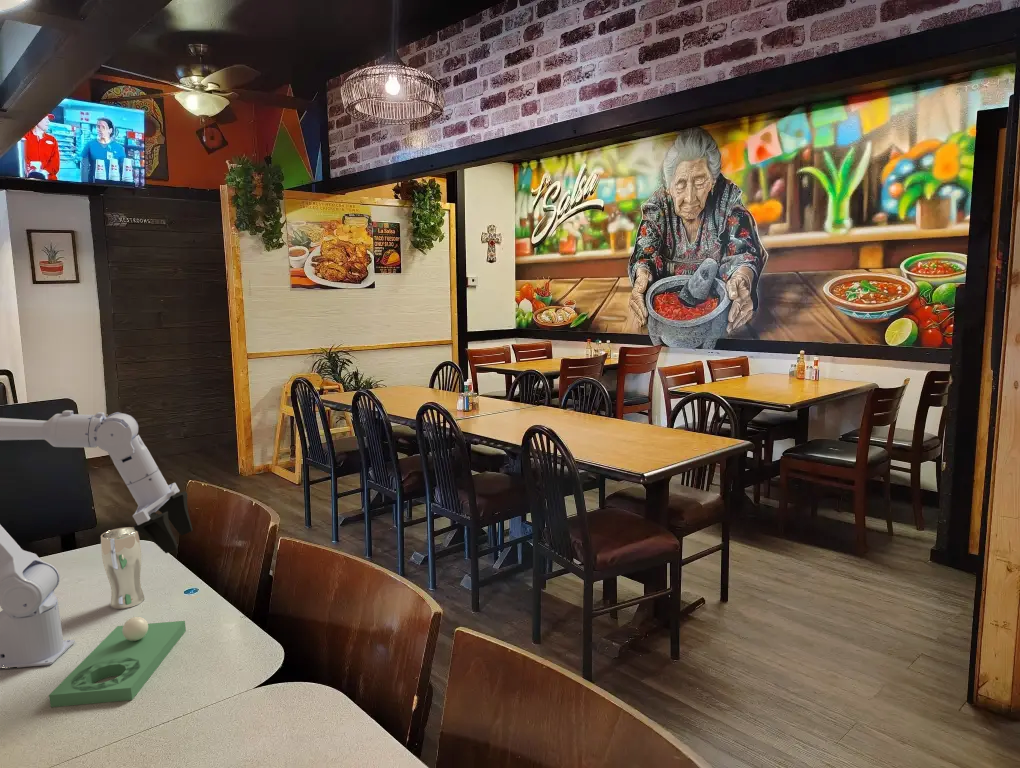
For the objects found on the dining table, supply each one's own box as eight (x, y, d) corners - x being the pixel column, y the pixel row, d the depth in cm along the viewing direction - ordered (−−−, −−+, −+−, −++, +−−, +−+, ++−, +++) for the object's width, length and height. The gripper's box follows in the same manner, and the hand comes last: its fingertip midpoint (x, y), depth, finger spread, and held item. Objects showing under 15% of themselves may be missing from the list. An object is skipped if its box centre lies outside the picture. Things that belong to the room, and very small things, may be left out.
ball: (119, 646, 119) (116, 624, 118) (130, 634, 123) (127, 613, 122) (143, 644, 119) (140, 622, 118) (153, 633, 123) (150, 611, 122)
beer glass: (130, 611, 137) (121, 539, 135) (100, 609, 138) (90, 538, 136) (154, 595, 144) (146, 527, 142) (125, 594, 145) (117, 526, 143)
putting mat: (50, 707, 105) (48, 695, 105) (118, 636, 127) (117, 626, 126) (132, 699, 106) (130, 687, 106) (185, 630, 128) (184, 620, 127)
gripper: (146, 481, 115) (185, 549, 118) (178, 455, 129) (212, 517, 132) (107, 498, 115) (147, 566, 118) (143, 470, 129) (178, 531, 132)
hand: (179, 541), depth 125 cm, fingers open, 7 cm apart
